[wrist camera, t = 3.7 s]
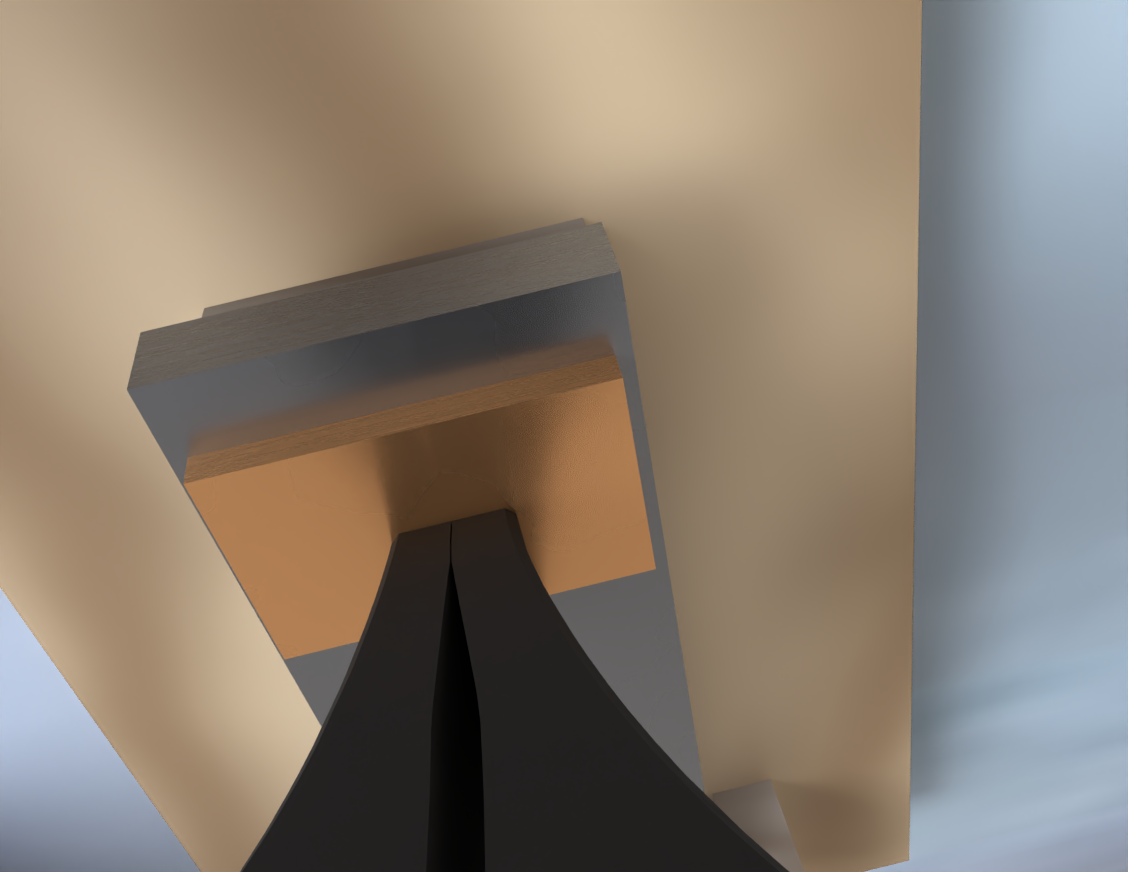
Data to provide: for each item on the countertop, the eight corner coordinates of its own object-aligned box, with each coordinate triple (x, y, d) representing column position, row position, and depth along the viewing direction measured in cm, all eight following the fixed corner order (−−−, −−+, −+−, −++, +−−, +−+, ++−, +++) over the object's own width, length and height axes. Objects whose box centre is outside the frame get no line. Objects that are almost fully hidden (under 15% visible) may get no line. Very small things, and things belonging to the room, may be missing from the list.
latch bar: (474, 937, 22) (483, 1025, 21) (144, 316, 11) (120, 416, 10) (711, 879, 22) (734, 962, 21) (596, 208, 11) (629, 292, 10)
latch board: (303, 926, 25) (291, 1163, 21) (-321, -55, 12) (-660, 72, 8) (874, 785, 25) (970, 993, 21) (853, -330, 12) (1088, -337, 8)
